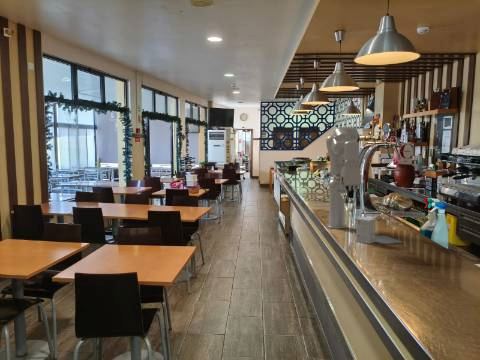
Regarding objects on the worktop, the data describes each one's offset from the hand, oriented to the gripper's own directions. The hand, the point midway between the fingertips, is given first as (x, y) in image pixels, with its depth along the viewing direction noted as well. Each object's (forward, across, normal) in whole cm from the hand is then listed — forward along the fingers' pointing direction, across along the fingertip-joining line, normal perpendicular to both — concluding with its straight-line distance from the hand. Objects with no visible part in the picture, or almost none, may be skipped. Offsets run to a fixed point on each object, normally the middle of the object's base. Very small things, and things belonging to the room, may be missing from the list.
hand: (350, 197), depth 202 cm
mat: (+25, -22, 0) cm, 33 cm away
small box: (+25, -10, 0) cm, 27 cm away
